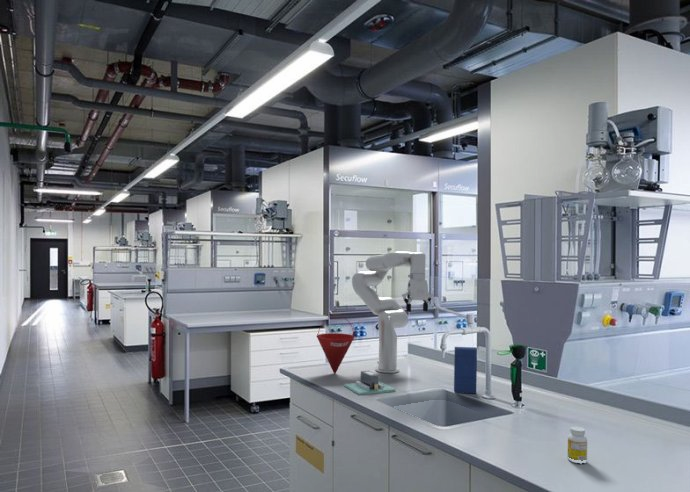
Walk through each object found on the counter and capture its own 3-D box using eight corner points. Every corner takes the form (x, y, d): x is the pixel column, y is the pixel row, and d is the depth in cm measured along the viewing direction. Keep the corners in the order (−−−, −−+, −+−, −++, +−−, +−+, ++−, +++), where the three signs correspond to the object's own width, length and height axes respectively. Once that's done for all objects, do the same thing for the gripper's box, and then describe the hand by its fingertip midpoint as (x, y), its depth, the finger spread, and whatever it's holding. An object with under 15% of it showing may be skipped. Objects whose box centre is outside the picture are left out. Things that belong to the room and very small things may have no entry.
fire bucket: (323, 379, 246) (325, 317, 247) (307, 371, 264) (309, 313, 264) (362, 375, 256) (363, 316, 257) (344, 367, 274) (345, 312, 274)
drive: (360, 384, 235) (360, 371, 235) (368, 383, 237) (368, 370, 237) (370, 389, 226) (370, 375, 226) (378, 388, 227) (378, 375, 228)
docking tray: (344, 386, 235) (344, 378, 235) (378, 383, 242) (378, 375, 242) (359, 395, 220) (359, 386, 220) (395, 391, 228) (395, 383, 228)
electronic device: (474, 391, 231) (475, 347, 231) (476, 394, 225) (477, 349, 226) (453, 390, 231) (454, 346, 232) (454, 393, 226) (455, 348, 227)
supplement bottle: (584, 466, 148) (584, 433, 149) (565, 461, 152) (565, 428, 152) (589, 460, 152) (589, 428, 153) (570, 456, 156) (570, 424, 156)
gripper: (406, 277, 247) (406, 312, 247) (436, 277, 254) (435, 311, 254) (398, 276, 254) (398, 311, 254) (428, 276, 261) (427, 310, 261)
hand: (417, 311), depth 254 cm, fingers open, 9 cm apart
